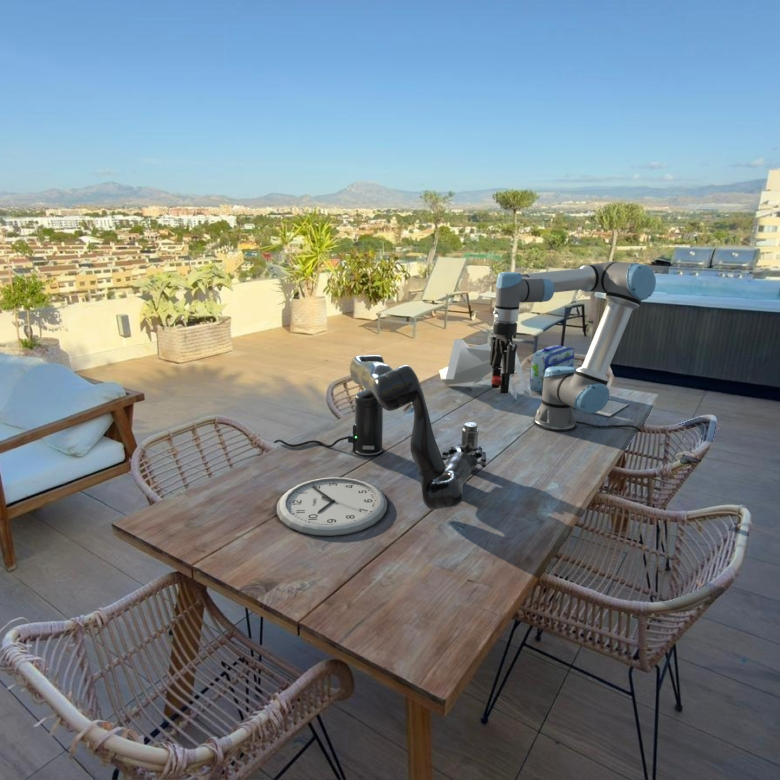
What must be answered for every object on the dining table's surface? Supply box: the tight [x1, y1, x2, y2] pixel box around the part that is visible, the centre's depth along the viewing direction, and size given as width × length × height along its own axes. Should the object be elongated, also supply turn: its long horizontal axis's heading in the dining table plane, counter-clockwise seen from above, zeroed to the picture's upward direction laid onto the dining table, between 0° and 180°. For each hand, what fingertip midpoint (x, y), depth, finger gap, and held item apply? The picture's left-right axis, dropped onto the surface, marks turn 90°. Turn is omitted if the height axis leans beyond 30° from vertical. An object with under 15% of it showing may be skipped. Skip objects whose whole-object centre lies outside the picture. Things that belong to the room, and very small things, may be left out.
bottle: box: [461, 421, 479, 472], centre depth 164 cm, size 5×5×15 cm
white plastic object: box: [438, 310, 531, 400], centre depth 245 cm, size 37×45×31 cm
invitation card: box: [595, 399, 629, 418], centre depth 226 cm, size 21×1×15 cm
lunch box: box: [529, 345, 575, 394], centre depth 245 cm, size 26×11×21 cm, turn 134°
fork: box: [403, 402, 413, 411], centre depth 222 cm, size 3×16×2 cm, turn 160°
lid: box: [491, 375, 501, 386], centre depth 173 cm, size 6×6×2 cm
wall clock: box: [276, 476, 388, 537], centre depth 142 cm, size 30×2×30 cm
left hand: (470, 447), depth 167 cm, fingers closed on bottle, 5 cm apart
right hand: (499, 390), depth 175 cm, fingers closed on lid, 6 cm apart
